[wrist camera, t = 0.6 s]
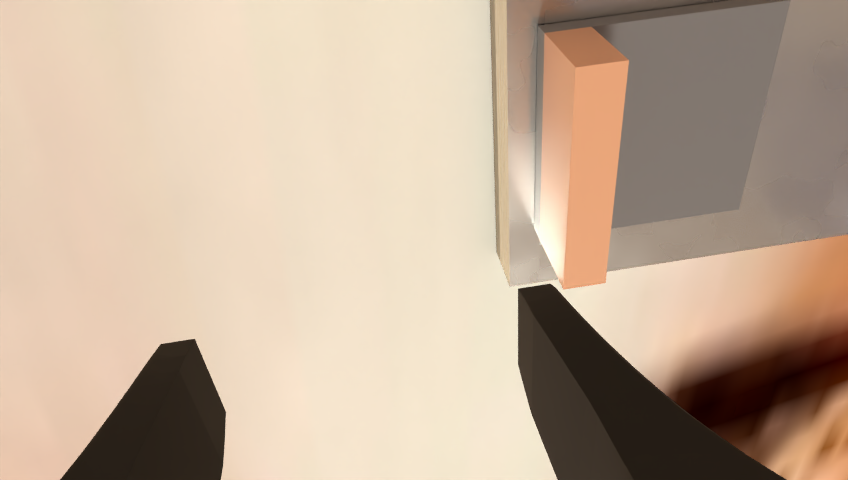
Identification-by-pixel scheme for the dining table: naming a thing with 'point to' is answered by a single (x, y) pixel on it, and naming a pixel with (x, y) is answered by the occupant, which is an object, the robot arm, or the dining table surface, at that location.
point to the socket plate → (770, 165)
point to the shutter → (646, 121)
